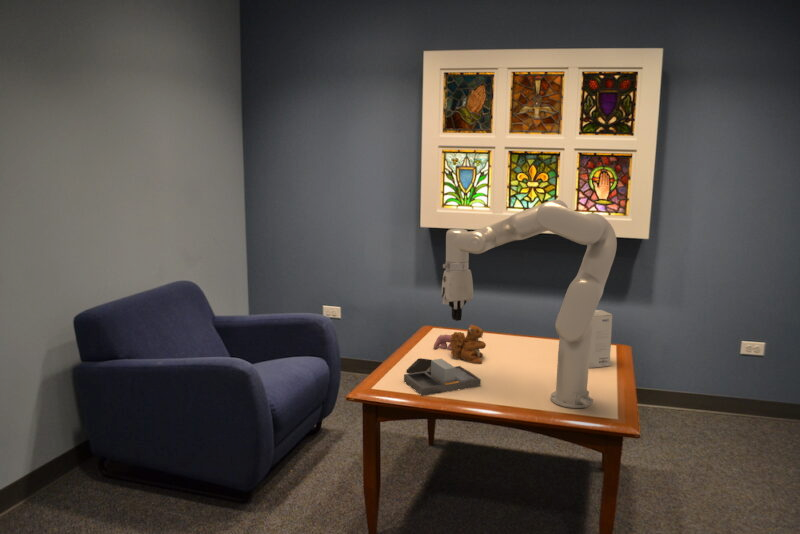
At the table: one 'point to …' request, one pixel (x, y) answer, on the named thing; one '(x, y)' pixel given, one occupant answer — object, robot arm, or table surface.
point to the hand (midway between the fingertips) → (456, 319)
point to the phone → (420, 366)
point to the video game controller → (443, 341)
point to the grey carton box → (601, 339)
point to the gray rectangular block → (442, 371)
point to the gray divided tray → (432, 386)
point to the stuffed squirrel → (468, 345)
